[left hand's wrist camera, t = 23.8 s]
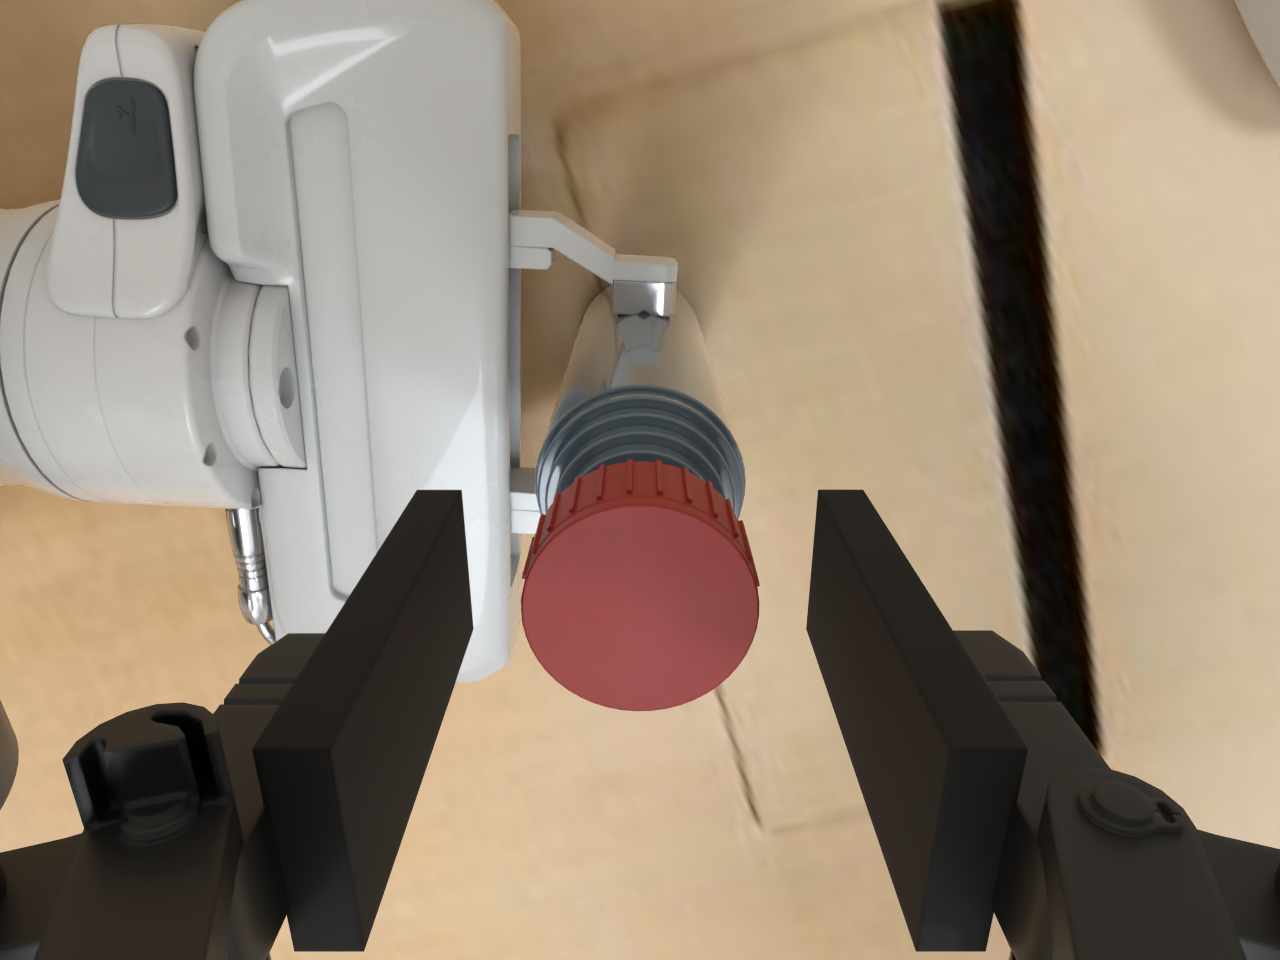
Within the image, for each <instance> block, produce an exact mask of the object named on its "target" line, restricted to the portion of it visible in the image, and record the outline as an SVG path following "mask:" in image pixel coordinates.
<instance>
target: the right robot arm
mask: <svg viewBox="0 0 1280 960" xmlns="http://www.w3.org/2000/svg"><path fill="white" fill-rule="evenodd" d="M558 251H559V252H560V253H562V254H563V255H565V256H566V257H568V258H570V259H571V260H573V261H574V262H576V263H578V264H579V265H581V266H582V267H584V268H586V269H587V270H589V271H590V272H592V273H594V274H595V275H597V276H598V277H600V278H601V279H603V280H605V281H606V282H608V283H609V284H611V285H613V280H614V293H613V314H620V315H638V314H639V313H641V312H642V311H644V310H645V311H646V312H647V313H648V314H650V315H651V316H657V317H669V316H673V315H674V311H675V300H676V288H677V273H678V261H677V259H675V258H670V257H665V256H646V255H628V254H616V249H614V248H613V247H611V246H610V245H608V244H607V243H605V242H604V241H602V240H601V239H599V238H598V237H596V236H595V235H593V234H592V233H590V232H589V231H587V230H586V229H584V228H583V227H581V226H580V225H578V224H577V223H575V222H574V221H572V220H571V219H569V218H568V217H566V216H565V215H563V214H562V213H560V212H554V211H536V210H521V40H520V34H519V31H518V29H517V27H516V25H515V24H514V23H513V22H512V20H511V19H510V18H509V16H508V15H507V14H506V13H505V11H504V10H503V9H502V8H501V7H500V6H499V5H498V4H497V2H496V1H495V0H242V1H239V2H237V3H235V4H234V5H232V6H230V7H229V8H227V9H226V10H225V11H223V12H222V13H221V14H220V15H219V16H217V17H216V19H215V20H214V21H213V22H212V23H211V24H210V26H209V27H208V28H207V30H206V32H203V31H199V30H195V29H189V28H184V27H178V26H170V25H160V24H117V25H106V26H102V27H99V28H97V29H95V30H94V31H92V32H91V33H90V34H89V36H88V37H87V39H86V41H85V43H84V46H83V48H82V52H81V56H80V62H79V68H78V75H77V84H76V93H75V102H74V111H73V119H72V127H71V135H70V142H69V150H68V157H67V164H66V170H65V176H64V182H63V188H62V193H61V198H60V199H59V200H54V201H49V202H45V203H41V204H37V205H33V206H29V207H26V208H21V209H1V208H0V486H4V485H21V486H27V487H32V488H35V489H38V490H40V491H43V492H45V493H48V494H52V495H55V496H59V497H62V498H66V499H70V500H76V501H86V502H99V503H120V504H142V505H163V506H188V507H208V508H225V510H226V516H227V522H228V529H229V536H230V542H231V547H232V551H233V554H234V558H235V560H236V565H237V569H238V573H239V582H240V584H239V585H238V599H239V605H240V609H241V612H242V614H243V617H244V619H245V621H246V622H247V623H249V624H253V625H256V626H257V628H258V630H259V632H260V634H261V635H262V636H263V637H264V639H265V640H266V641H267V642H268V643H269V644H270V645H272V644H273V643H275V642H276V641H278V640H279V639H281V638H282V637H284V636H285V635H287V634H288V633H326V632H327V630H328V629H329V627H330V626H331V624H332V622H333V621H334V619H335V618H336V616H337V615H338V613H339V611H340V610H341V608H342V607H343V605H344V604H345V602H346V600H347V599H348V597H349V596H350V594H351V593H352V591H353V589H354V588H355V586H356V585H357V583H358V582H359V580H360V578H361V577H362V575H363V574H364V572H365V571H366V569H367V567H368V566H369V564H370V563H371V561H372V560H373V558H374V556H375V555H376V553H377V552H378V550H379V549H380V547H381V545H382V544H383V542H384V541H385V539H386V538H387V536H388V534H389V533H390V531H391V530H392V528H393V527H394V525H395V523H396V522H397V520H398V519H399V517H400V516H401V514H402V512H403V511H404V509H405V508H406V506H407V505H408V503H409V501H410V500H411V498H412V497H413V495H414V494H415V492H416V490H462V499H463V510H464V522H465V534H466V546H467V558H468V569H469V581H470V593H471V605H472V616H473V628H474V629H473V632H472V635H471V638H470V641H469V644H468V647H467V650H466V653H465V656H464V659H463V661H462V664H461V667H460V670H459V673H458V676H457V679H456V682H466V683H471V682H478V681H481V680H483V679H485V678H487V677H488V676H490V675H492V674H493V673H495V672H497V671H498V670H500V669H502V668H503V667H504V666H506V665H507V664H508V662H509V661H510V658H511V656H512V652H513V649H514V645H515V642H516V638H517V633H518V628H519V624H520V618H521V534H535V533H536V530H537V526H538V522H539V518H540V516H541V514H540V510H539V507H538V503H537V498H536V492H535V473H536V468H521V269H544V270H547V269H548V268H549V267H550V266H551V265H552V264H553V262H554V261H555V260H556V258H557V257H558ZM271 620H273V624H274V629H273V628H272V626H271V625H270V623H269V621H271ZM17 766H18V743H17V739H16V735H15V733H14V731H13V729H12V726H11V724H10V721H9V719H8V717H7V714H6V712H5V710H4V707H3V705H2V703H1V700H0V810H1V808H2V806H3V805H4V803H5V801H6V799H7V797H8V795H9V792H10V790H11V788H12V785H13V782H14V779H15V776H16V771H17Z"/></svg>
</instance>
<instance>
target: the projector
mask: <svg viewBox="0 0 1280 960" xmlns="http://www.w3.org/2000/svg"><path fill="white" fill-rule="evenodd" d="M1234 1H1235V3H1236V5H1237V8H1238V10H1239V12H1240V14H1241V16H1242V18H1243V21H1244V23H1245V25H1246V27H1247V29H1248V32H1249V34H1250V36H1251V38H1252V40H1253V42H1254V43H1255V45H1256V47H1257V49H1258V51H1259V53H1260V55H1261V57H1262V59H1263V60H1264V62H1265V64H1266V66H1267V68H1268V70H1269V72H1270V74H1271V75H1272V77H1273V78H1274V80H1275V81H1276V83H1277V85H1278V86H1279V88H1280V0H1234Z"/></svg>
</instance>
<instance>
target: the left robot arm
mask: <svg viewBox="0 0 1280 960" xmlns="http://www.w3.org/2000/svg"><path fill="white" fill-rule="evenodd" d="M473 629H474V628H473V616H472V605H471V593H470V581H469V569H468V558H467V546H466V534H465V522H464V510H463V499H462V490H416V492H415V494H414V495H413V497H412V498H411V500H410V501H409V503H408V505H407V506H406V508H405V509H404V511H403V512H402V514H401V516H400V517H399V519H398V520H397V522H396V523H395V525H394V527H393V528H392V530H391V531H390V533H389V534H388V536H387V538H386V539H385V541H384V542H383V544H382V545H381V547H380V549H379V550H378V552H377V553H376V555H375V556H374V558H373V560H372V561H371V563H370V564H369V566H368V567H367V569H366V571H365V572H364V574H363V575H362V577H361V578H360V580H359V582H358V583H357V585H356V586H355V588H354V589H353V591H352V593H351V594H350V596H349V597H348V599H347V600H346V602H345V604H344V605H343V607H342V608H341V610H340V611H339V613H338V615H337V616H336V618H335V619H334V621H333V622H332V624H331V626H330V627H329V629H328V630H327V632H326V633H288V634H287V635H285V636H284V637H282V638H281V639H279V640H278V641H276V642H275V643H273V644H272V645H271V646H269V647H268V648H266V649H265V650H263V651H262V652H260V653H259V654H258V655H257V656H256V657H255V659H254V660H253V661H252V663H251V664H250V665H249V667H248V668H247V669H246V671H245V672H244V673H243V675H242V676H241V677H240V679H239V684H235V686H234V687H233V688H232V690H231V691H230V692H229V694H228V695H227V696H226V698H225V699H224V705H220V706H219V707H218V708H217V710H216V711H215V712H214V714H212V713H211V712H209V711H208V710H207V709H206V708H204V707H202V706H197V705H192V704H187V703H169V704H156V705H152V706H148V707H144V708H140V709H137V710H133V711H129V712H126V713H124V714H122V715H120V716H117V717H115V718H113V719H111V720H109V721H107V722H104V723H102V724H100V725H98V726H97V727H96V728H94V729H93V730H92V731H90V732H89V733H87V734H86V735H85V736H83V737H82V738H81V739H79V740H78V741H76V743H75V744H74V745H73V747H72V748H71V749H70V751H69V752H68V753H67V754H66V756H65V757H64V758H63V763H64V766H65V769H66V772H67V775H68V778H69V782H70V785H71V788H72V791H73V794H74V797H75V801H76V804H77V807H78V810H79V813H80V817H81V820H82V823H83V826H84V831H83V833H81V834H78V835H74V836H71V837H68V838H64V839H59V840H55V841H51V842H46V843H42V844H37V845H33V846H28V847H24V848H20V849H15V850H11V851H6V852H2V853H0V960H271V957H270V950H271V948H272V946H273V943H274V941H275V939H276V937H277V935H278V932H279V930H280V928H281V926H282V924H283V921H284V919H285V917H286V915H287V918H288V923H289V928H290V932H291V937H292V942H293V946H294V951H364V950H365V947H366V944H367V941H368V938H369V935H370V932H371V929H372V926H373V923H374V920H375V917H376V914H377V911H378V909H379V906H380V903H381V900H382V897H383V894H384V891H385V888H386V885H387V882H388V879H389V876H390V873H391V870H392V867H393V864H394V861H395V859H396V856H397V853H398V850H399V847H400V844H401V841H402V838H403V835H404V832H405V829H406V826H407V823H408V820H409V817H410V814H411V811H412V809H413V806H414V803H415V800H416V797H417V794H418V791H419V788H420V785H421V782H422V779H423V776H424V773H425V770H426V767H427V764H428V761H429V759H430V756H431V753H432V750H433V747H434V744H435V741H436V738H437V735H438V732H439V729H440V726H441V723H442V720H443V717H444V714H445V711H446V709H447V706H448V703H449V700H450V697H451V694H452V691H453V688H454V685H455V682H456V679H457V676H458V673H459V670H460V667H461V664H462V661H463V659H464V656H465V653H466V650H467V647H468V644H469V641H470V638H471V635H472V632H473ZM806 629H807V632H808V635H809V638H810V641H811V644H812V647H813V650H814V653H815V656H816V659H817V662H818V664H819V667H820V670H821V673H822V676H823V679H824V682H825V685H826V688H827V691H828V694H829V697H830V700H831V703H832V706H833V709H834V712H835V714H836V717H837V720H838V723H839V726H840V729H841V732H842V735H843V738H844V741H845V744H846V747H847V750H848V753H849V756H850V759H851V762H852V764H853V767H854V770H855V773H856V776H857V779H858V782H859V785H860V788H861V791H862V794H863V797H864V800H865V803H866V806H867V809H868V812H869V814H870V817H871V820H872V823H873V826H874V829H875V832H876V835H877V838H878V841H879V844H880V847H881V850H882V853H883V856H884V859H885V862H886V864H887V867H888V870H889V873H890V876H891V879H892V882H893V885H894V888H895V891H896V894H897V897H898V900H899V903H900V906H901V909H902V912H903V914H904V917H905V920H906V923H907V926H908V929H909V932H910V935H911V938H912V941H913V944H914V947H915V950H916V951H986V946H987V942H988V937H989V932H990V927H991V923H992V918H993V913H995V915H996V917H997V919H998V922H999V924H1000V926H1001V928H1002V930H1003V933H1004V935H1005V937H1006V939H1007V941H1008V943H1009V946H1010V948H1011V952H1010V957H1009V960H1280V849H1276V848H1272V847H1267V846H1263V845H1258V844H1254V843H1250V842H1245V841H1241V840H1236V839H1232V838H1227V837H1223V836H1219V835H1214V834H1211V833H1208V832H1204V831H1201V830H1197V829H1196V827H1195V826H1194V824H1193V823H1192V821H1191V819H1190V818H1189V816H1188V815H1187V813H1186V812H1185V810H1184V809H1183V808H1182V807H1181V806H1180V805H1179V804H1177V803H1176V802H1175V801H1174V800H1172V799H1171V798H1170V797H1169V796H1168V795H1166V794H1165V793H1164V792H1163V791H1162V790H1160V789H1158V788H1156V787H1154V786H1152V785H1150V784H1148V783H1146V782H1144V781H1142V780H1140V779H1139V778H1137V777H1134V776H1131V775H1128V774H1124V773H1121V772H1118V771H1114V770H1111V769H1110V768H1109V766H1108V765H1107V764H1106V762H1105V761H1104V760H1103V758H1102V757H1101V756H1100V754H1099V753H1098V752H1097V750H1096V749H1095V748H1094V746H1093V745H1092V743H1091V742H1090V741H1089V739H1088V738H1087V737H1086V735H1085V734H1084V733H1083V731H1082V730H1081V729H1080V727H1079V726H1078V725H1077V723H1076V722H1075V721H1074V719H1073V718H1072V717H1071V715H1070V714H1069V713H1068V711H1067V710H1066V709H1065V707H1064V706H1063V705H1062V703H1061V702H1057V700H1056V695H1055V694H1054V693H1053V691H1052V690H1051V689H1050V687H1049V686H1048V685H1047V683H1046V682H1045V681H1042V680H1041V675H1040V674H1039V673H1038V671H1037V670H1036V669H1035V667H1034V666H1033V665H1032V663H1031V662H1030V661H1029V659H1028V658H1027V657H1026V655H1025V654H1024V653H1023V651H1021V650H1020V649H1018V648H1017V647H1015V646H1014V645H1012V644H1011V643H1009V642H1008V641H1006V640H1005V639H1004V638H1002V637H1001V636H999V635H998V634H996V633H995V632H993V631H953V630H952V629H951V627H950V626H949V624H948V622H947V621H946V619H945V618H944V616H943V615H942V613H941V611H940V610H939V608H938V607H937V605H936V604H935V602H934V600H933V599H932V597H931V596H930V594H929V593H928V591H927V589H926V588H925V586H924V585H923V583H922V582H921V580H920V578H919V577H918V575H917V574H916V572H915V571H914V569H913V567H912V566H911V564H910V563H909V561H908V560H907V558H906V556H905V555H904V553H903V552H902V550H901V549H900V547H899V545H898V544H897V542H896V541H895V539H894V538H893V536H892V534H891V533H890V531H889V530H888V528H887V527H886V525H885V523H884V522H883V520H882V519H881V517H880V516H879V514H878V512H877V511H876V509H875V508H874V506H873V505H872V503H871V501H870V500H869V498H868V497H867V495H866V494H865V492H864V490H818V499H817V510H816V522H815V534H814V546H813V558H812V569H811V581H810V593H809V605H808V616H807V628H806Z"/></svg>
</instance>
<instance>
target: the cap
mask: <svg viewBox="0 0 1280 960" xmlns="http://www.w3.org/2000/svg"><path fill="white" fill-rule="evenodd" d="M522 579H525V583H524V588H523V592H522V598H521V613H522V623H523V627H524V631H525V635H526V637H527V640H528V642H529V645H530V647H531V649H532V651H533V653H534V654H535V656H536V658H537V659H538V661H539V662H540V664H541V665H542V666H543V667H544V669H545V670H546V671H547V672H548V673H549V674H550V675H551V676H552V677H553V678H554V679H555V680H556V681H557V682H558V683H560V684H561V685H562V686H564V687H565V688H566V689H568V690H569V691H571V692H573V693H574V694H576V695H578V696H579V697H581V698H584V699H586V700H588V701H591V702H593V703H596V704H599V705H602V706H605V707H609V708H615V709H620V710H629V711H653V710H660V709H667V708H671V707H675V706H679V705H682V704H684V703H687V702H690V701H692V700H695V699H697V698H699V697H701V696H703V695H705V694H707V693H708V692H709V691H711V690H712V689H714V688H715V687H717V686H718V685H720V684H721V683H722V682H723V681H724V680H725V679H727V678H728V677H729V676H730V675H731V674H732V672H733V671H734V670H735V669H736V668H737V667H738V666H739V664H740V663H741V661H742V660H743V658H744V657H745V655H746V654H747V652H748V650H749V648H750V646H751V644H752V641H753V638H754V635H755V632H756V629H757V624H758V618H759V597H758V589H757V586H760V585H759V580H758V576H757V572H756V569H755V565H754V561H753V557H752V553H751V549H750V546H749V542H748V538H747V535H746V531H745V527H744V524H743V521H742V520H741V521H738V519H737V517H736V515H735V513H734V511H733V508H732V504H731V501H730V500H729V499H726V500H725V499H724V498H723V497H722V495H721V494H720V493H719V492H718V491H716V490H715V489H714V488H713V484H712V482H711V481H709V480H708V481H707V482H705V481H704V480H702V479H701V478H699V477H698V476H696V475H694V474H692V473H690V472H689V470H688V468H686V467H684V468H683V469H680V468H677V467H675V466H671V465H667V464H662V463H661V460H656V462H646V461H638V462H633V459H628V460H627V462H625V463H618V464H613V465H610V466H606V467H605V464H603V465H600V468H599V469H597V470H595V471H593V472H590V473H588V474H586V475H585V476H583V477H581V478H580V477H579V476H577V477H575V480H574V483H572V484H571V485H570V486H568V487H567V488H566V489H565V490H564V491H563V492H562V493H561V494H559V493H556V494H555V495H554V499H553V503H552V505H551V506H550V507H549V509H548V510H547V512H546V514H545V515H544V514H541V516H540V518H539V522H538V526H537V530H536V533H535V537H533V538H532V542H531V545H530V549H529V553H528V557H527V560H526V564H525V568H524V571H523V575H522Z"/></svg>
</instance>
